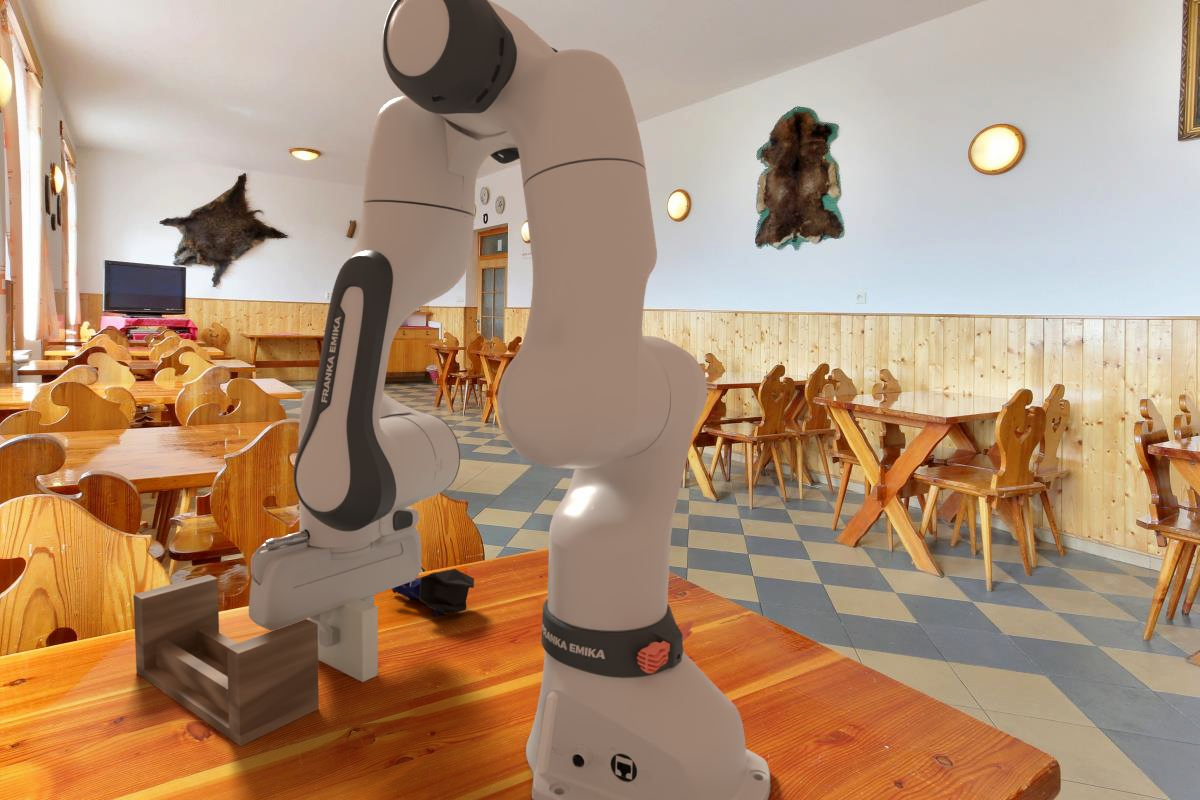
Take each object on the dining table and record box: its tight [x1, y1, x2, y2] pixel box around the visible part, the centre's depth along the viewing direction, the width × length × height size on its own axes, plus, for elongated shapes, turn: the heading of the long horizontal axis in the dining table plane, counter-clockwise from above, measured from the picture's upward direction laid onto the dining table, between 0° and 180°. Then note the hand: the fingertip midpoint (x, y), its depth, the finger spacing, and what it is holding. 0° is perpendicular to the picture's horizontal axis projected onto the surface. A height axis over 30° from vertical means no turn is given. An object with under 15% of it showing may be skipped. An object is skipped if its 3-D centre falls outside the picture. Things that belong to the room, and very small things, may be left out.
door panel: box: [308, 599, 379, 683], centre depth 79 cm, size 10×2×8 cm, turn 55°
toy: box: [391, 568, 475, 617], centre depth 96 cm, size 9×6×15 cm
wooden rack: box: [133, 574, 320, 747], centre depth 73 cm, size 22×8×9 cm, turn 55°
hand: (342, 639), depth 79 cm, fingers closed on door panel, 2 cm apart
